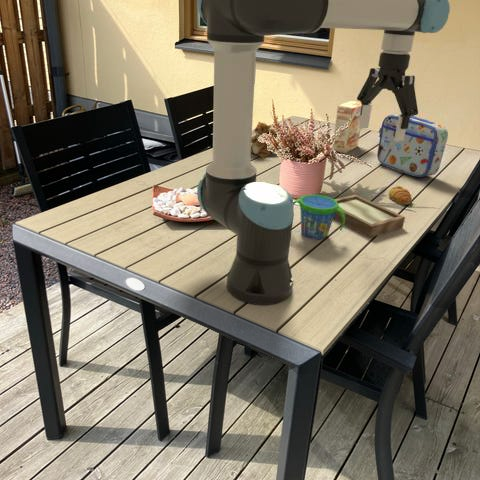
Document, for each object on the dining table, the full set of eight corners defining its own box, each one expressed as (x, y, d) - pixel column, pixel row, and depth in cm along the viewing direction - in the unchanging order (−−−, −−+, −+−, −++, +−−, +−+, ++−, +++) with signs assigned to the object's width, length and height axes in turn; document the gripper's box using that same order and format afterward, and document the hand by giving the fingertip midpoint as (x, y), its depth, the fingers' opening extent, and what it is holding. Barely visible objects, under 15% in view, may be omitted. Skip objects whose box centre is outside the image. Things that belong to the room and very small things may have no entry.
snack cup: (346, 235, 141) (352, 202, 137) (334, 249, 133) (339, 214, 129) (296, 221, 148) (300, 189, 143) (281, 234, 140) (284, 200, 135)
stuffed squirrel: (242, 152, 207) (244, 121, 202) (266, 147, 216) (268, 117, 210) (259, 159, 201) (261, 126, 195) (282, 153, 210) (285, 122, 204)
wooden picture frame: (369, 237, 141) (372, 226, 139) (322, 212, 155) (323, 201, 154) (402, 227, 148) (404, 217, 146) (354, 204, 163) (355, 194, 161)
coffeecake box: (345, 153, 215) (353, 107, 206) (330, 150, 218) (337, 105, 209) (358, 146, 226) (365, 102, 218) (343, 143, 230) (350, 100, 221)
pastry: (416, 206, 165) (418, 195, 163) (396, 206, 164) (398, 195, 162) (404, 195, 173) (406, 185, 171) (385, 195, 172) (387, 185, 170)
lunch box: (368, 162, 205) (378, 108, 196) (385, 159, 211) (395, 106, 201) (423, 183, 186) (437, 124, 176) (440, 179, 191) (455, 121, 181)
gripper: (445, 58, 119) (425, 145, 129) (372, 46, 138) (360, 122, 148) (423, 58, 116) (404, 147, 125) (352, 46, 135) (340, 124, 144)
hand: (380, 134), depth 137 cm, fingers open, 13 cm apart
